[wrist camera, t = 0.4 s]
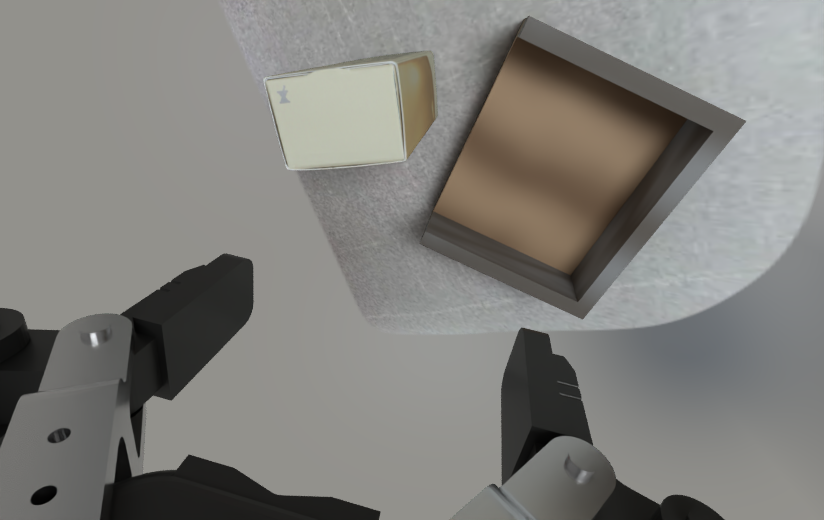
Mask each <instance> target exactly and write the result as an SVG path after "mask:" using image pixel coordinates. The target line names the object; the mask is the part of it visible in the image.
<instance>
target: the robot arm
mask: <svg viewBox="0 0 824 520" xmlns="http://www.w3.org/2000/svg"><path fill="white" fill-rule="evenodd" d="M252 309H253V264H252V261H251V260H249V259H246V258H242V257H238V256H234V255H230V254H222V255H221V256H219V257H218V258H216V259H215V260H213V261H212V262H211V263H209V264H208V265H206V266H205V265H202V266H199V267H196V268H193V269H190V270H187V271H185V272H183V273H182V274H180V275H179V276H177V277H176V278H174V279H173V280H172V281H171V282H168V283H167V284H165V285H164V286H162V287H161V288H160V290H156V291H155V292H153V293H152V294H150V295H149V296H147V297H146V298H144V299H143V300H141V301H140V302H138V303H137V304H135V305H134V306H132V307H131V308H129V309H128V310H126V311H125V312H123V313H122V314H120V315H118V314H95V315H90V316H86V317H83V318H80V319H77V320H75V321H73V322H71V323H69V324H68V325H66V326H65V327H63V328H62V329H61V330H30V329H27V325H26V322H25V319H24V316H23V314H22V313H20V312H19V311H16V310H13V309H7V308H6V309H5V308H0V520H379V516H380V511H376V510H373V509H370V508H367V507H363V506H360V505H357V504H353V503H350V502H346V501H343V500H340V499H336V498H333V497H313V496H283V495H276V494H274V493H272V492H270V491H269V490H267V489H266V488H264V487H262V486H261V485H259V484H258V483H256V482H255V481H253V480H252V479H250V478H249V477H247V476H246V475H244V474H243V473H241V472H240V471H238V470H236V469H235V468H232V467H229V466H226V465H222V464H219V463H215V462H212V461H209V460H205V459H202V458H199V457H195V456H192V455H188V456H187V457H186V459H185V460H184V461H183V463H182V464H181V465H180V466H179V468H178V469H177V470H165V471H156V472H150V473H145V474H143V460H144V443H145V426H146V405H145V402H146V401H147V400H149V399H150V398H151V397H152V396H153V395H154V396H157V397H161V398H164V399H168V400H172V399H173V398H174V397H175V396H176V395H177V394H178V393H179V392H180V391H181V390H182V389H183V388H184V387H185V386H186V385H187V384H188V382H190V381H191V380H192V379H193V378H194V377H195V375H196V374H197V373H198V372H199V371H200V370H201V369H202V368H203V367H204V366H205V365H206V364H207V363H208V362H209V361H210V360H211V359H212V358H213V357H214V356H215V355H216V354H217V353H218V352H219V351H220V350H221V348H223V346H224V345H225V344H226V343H227V342H228V341H229V340H230V339H231V338H232V337H233V336H234V335H235V334H236V333H237V332H238V331H239V330H240V329H241V328H242V327H243V326H244V325H245V324H246V322H247V321H248V319H249V317H250V315H251V313H252ZM501 419H502V420H501V423H502V425H501V427H502V428H501V429H502V486H501V487H499V488H498V487H497V486H496V485H495V484H491V485H489V486H487V487H486V488H485V489H483V490H482V491H481V492H480V493H479V494H478V495H477V496H475V497H474V498H473V499H472V500H471V501H470V502H469V503H468V504H466V505H465V506H464V507H463V508H462V509H461V510H460V511H458V512H457V513H456V514H455V515H454V516H453V517H452V518H451V519H449V520H724V519H723V518H722V517H721V516H720V515H719V514H718V513H716V512H715V511H714V510H712V509H711V508H710V507H708V506H707V505H705V504H703V503H702V502H700V501H698V500H695V499H693V498H691V497H687V496H683V495H671V496H668V497H667V498H665V499H664V500H663V502H662V503H661V505H659V504H657V503H656V502H654V501H652V500H650V499H648V498H647V497H645V496H643V495H641V494H639V493H637V492H636V491H634V490H632V489H630V488H629V487H627V486H625V485H623V484H622V483H621V482H620V481H618V480H617V479H616V476H615V472H614V470H613V467H612V466H611V464H610V462H609V461H608V460H607V458H606V457H605V456H604V455H603V454H602V453H601V452H600V451H599V450H598V449H597V448H595V447H594V446H593V443H592V439H591V435H590V431H589V427H588V422H587V418H586V415H585V410H584V406H583V403H582V401H581V394H580V390H579V389H578V382H577V377H576V373H575V371H574V369H573V368H572V367H571V365H570V364H569V362H568V361H567V360H566V359H565V357H563V356H559V355H555V354H552V349H551V343H550V338H549V335H548V334H546V333H542V332H538V331H534V330H530V329H526V328H521V329H520V330H519V332H518V335H517V337H516V341H515V343H514V346H513V349H512V352H511V355H510V358H509V360H508V363H507V366H506V369H505V372H504V377H503V381H502V388H501Z"/></svg>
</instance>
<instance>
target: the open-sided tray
mask: <svg viewBox="0 0 824 520" xmlns="http://www.w3.org/2000/svg"><path fill="white" fill-rule="evenodd" d="M745 122H746V121H745V120H743V119H741V118H739V117H737V116H735V115H733V114H731V113H728V112H726V111H724V110H722V109H720V108H718V107H716V106H714V105H712V104H710V103H708V102H706V101H704V100H702V99H700V98H698V97H695V96H693V95H691V94H689V93H687V92H685V91H683V90H681V89H679V88H677V87H675V86H673V85H671V84H669V83H667V82H664V81H662V80H660V79H658V78H656V77H654V76H652V75H650V74H648V73H646V72H644V71H642V70H640V69H638V68H636V67H634V66H631V65H629V64H627V63H625V62H623V61H621V60H619V59H617V58H615V57H613V56H611V55H609V54H607V53H605V52H603V51H600V50H598V49H596V48H594V47H592V46H590V45H588V44H586V43H584V42H582V41H580V40H578V39H576V38H574V37H572V36H570V35H567V34H565V33H563V32H561V31H559V30H557V29H555V28H553V27H551V26H549V25H547V24H545V23H543V22H541V21H539V20H536V19H534V18H532V17H530V16H528V17H527V18H525V19H524V21H523V23H522V25H521V27H520V29H519V31H518V33H517V35H516V38H515V40H514V42H513V44H512V46H511V48H510V50H509V52H508V54H507V56H506V58H505V61H504V63H503V65H502V67H501V69H500V71H499V73H498V75H497V77H496V79H495V81H494V84H493V86H492V88H491V90H490V92H489V94H488V96H487V98H486V100H485V102H484V104H483V107H482V109H481V111H480V113H479V115H478V117H477V119H476V121H475V123H474V125H473V127H472V130H471V132H470V134H469V136H468V138H467V140H466V142H465V144H464V146H463V148H462V150H461V153H460V155H459V157H458V159H457V161H456V163H455V165H454V167H453V169H452V171H451V174H450V176H449V178H448V180H447V182H446V184H445V186H444V188H443V190H442V192H441V194H440V197H439V199H438V201H437V203H436V205H435V207H434V209H433V211H432V214H431V216H430V219H429V221H428V224H427V226H426V229H425V231H424V234H423V236H422V239H421V241H420V244H421V245H423V246H425V247H428V248H430V249H432V250H434V251H436V252H438V253H441V254H443V255H445V256H447V257H449V258H451V259H453V260H456V261H458V262H460V263H462V264H464V265H466V266H469V267H471V268H473V269H475V270H477V271H479V272H481V273H484V274H486V275H488V276H490V277H492V278H494V279H497V280H499V281H501V282H503V283H505V284H507V285H510V286H512V287H514V288H516V289H518V290H520V291H522V292H525V293H527V294H529V295H531V296H533V297H535V298H538V299H540V300H542V301H544V302H546V303H548V304H550V305H553V306H555V307H557V308H559V309H561V310H563V311H566V312H568V313H570V314H572V315H574V316H576V317H579V318H581V319H584V317H585V316H586V315H587V314H588V312H589V311H590V310H591V309H592V308H593V306H594V305H595V304H596V303H597V302H598V300H599V299H600V298H601V297H602V295H603V294H604V293H605V292H606V291H607V289H608V288H609V287H610V286H611V285H612V283H613V282H614V281H615V280H616V279H617V277H618V276H619V275H620V274H621V272H622V271H623V270H624V269H625V268H626V266H627V265H628V264H629V263H630V262H631V260H632V259H633V258H634V257H635V255H636V254H637V253H638V252H639V251H640V249H641V248H642V247H643V246H644V245H645V243H646V242H647V241H648V240H649V239H650V237H651V236H652V235H653V234H654V232H655V231H656V230H657V229H658V228H659V226H660V225H661V224H662V223H663V222H664V220H665V219H666V218H667V217H668V215H669V214H670V213H671V212H672V211H673V209H674V208H675V207H676V206H677V205H678V203H679V202H680V201H681V200H682V199H683V197H684V196H685V195H686V194H687V192H688V191H689V190H690V189H691V188H692V186H693V185H694V184H695V183H696V182H697V180H698V179H699V178H700V177H701V175H702V174H703V173H704V172H705V171H706V169H707V168H708V167H709V166H710V165H711V163H712V162H713V161H714V160H715V159H716V157H717V156H718V155H719V154H720V152H721V151H722V150H723V149H724V148H725V146H726V145H727V144H728V143H729V142H730V140H731V139H732V138H733V137H734V136H735V134H736V133H737V132H738V131H739V129H740V128H741V127H742V126H743V125H744V123H745Z"/></svg>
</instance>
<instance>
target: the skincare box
mask: <svg viewBox="0 0 824 520" xmlns="http://www.w3.org/2000/svg"><path fill="white" fill-rule="evenodd" d="M263 82H264V86H265V90H266V93H267V98H268V102H269V106H270V110H271V115H272V118H273V122H274V126H275V130H276V134H277V138H278V142H279V145H280V149H281V152H282V155H283V158H284V162H285V165H286V168H287V169H288V170H325V169H337V168H350V167H361V166H371V165H379V164H389V163H396V162H405V161H406V160H407V159H408V157H409V156H410V154H411V153H412V152H413V150H414V149H415V147H416V146H417V144H418V143H419V142H420V140H421V139H422V137H423V136H424V135H425V133H426V132H427V130H428V129H429V127H430V126H431V125H432V123H433V122H434V120H435V119H436V118H437V116H438V111H437V93H436V78H435V66H434V56H433V53H432V52H431V51H421V52H411V53H402V54H393V55H386V56H379V57H372V58H366V59H360V60H354V61H349V62H344V63H338V64H333V65H328V66H322V67H316V68H310V69H305V70H299V71H294V72H288V73H283V74H278V75H273V76H268V77H265V78H264V79H263Z"/></svg>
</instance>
